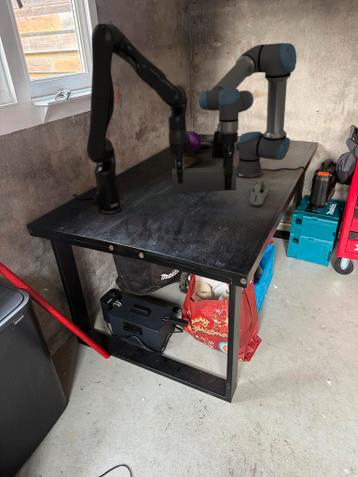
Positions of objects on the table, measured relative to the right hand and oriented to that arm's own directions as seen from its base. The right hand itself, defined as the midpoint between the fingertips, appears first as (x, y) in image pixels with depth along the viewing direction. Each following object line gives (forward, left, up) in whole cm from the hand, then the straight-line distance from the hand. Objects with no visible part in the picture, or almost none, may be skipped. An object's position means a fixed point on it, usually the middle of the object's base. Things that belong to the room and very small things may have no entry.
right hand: (227, 187), depth 141 cm
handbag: (+15, -90, -12) cm, 92 cm away
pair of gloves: (+30, -119, -12) cm, 123 cm away
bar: (+10, +3, -1) cm, 10 cm away
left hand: (+19, +5, +4) cm, 20 cm away
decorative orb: (+39, -92, -12) cm, 101 cm away
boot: (+34, -70, -12) cm, 79 cm away
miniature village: (-6, -113, -12) cm, 114 cm away
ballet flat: (-13, -19, -12) cm, 26 cm away
